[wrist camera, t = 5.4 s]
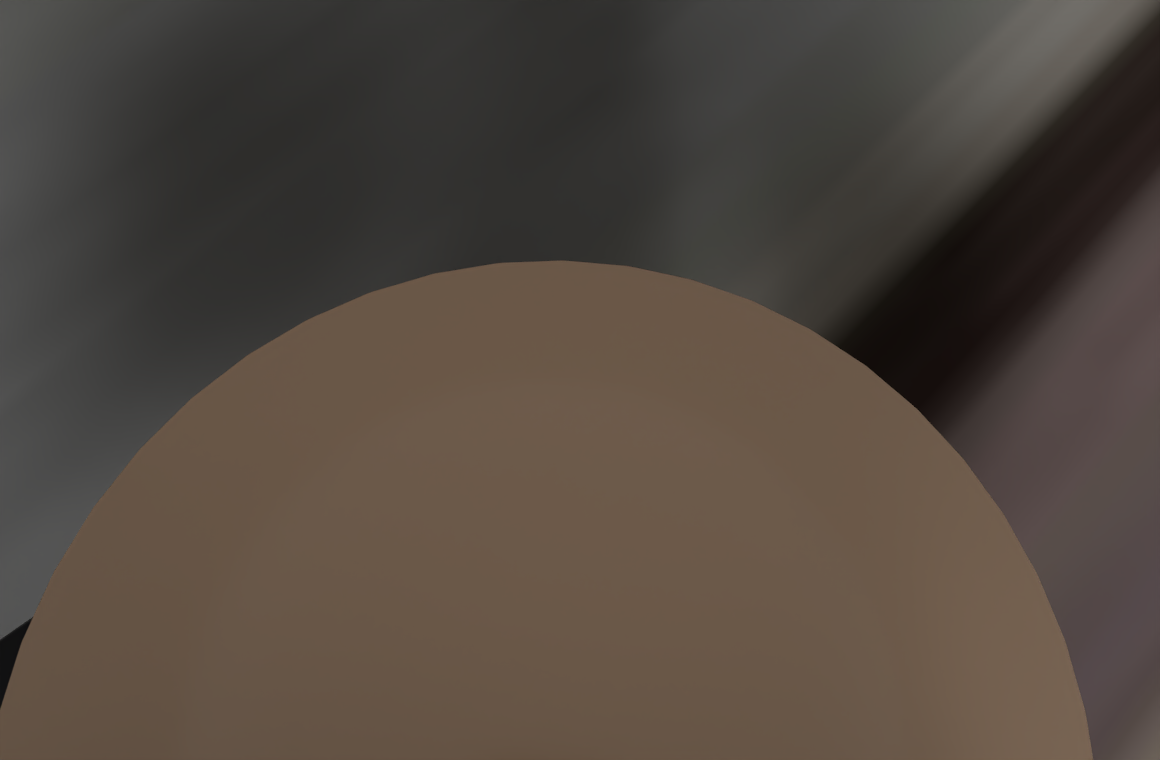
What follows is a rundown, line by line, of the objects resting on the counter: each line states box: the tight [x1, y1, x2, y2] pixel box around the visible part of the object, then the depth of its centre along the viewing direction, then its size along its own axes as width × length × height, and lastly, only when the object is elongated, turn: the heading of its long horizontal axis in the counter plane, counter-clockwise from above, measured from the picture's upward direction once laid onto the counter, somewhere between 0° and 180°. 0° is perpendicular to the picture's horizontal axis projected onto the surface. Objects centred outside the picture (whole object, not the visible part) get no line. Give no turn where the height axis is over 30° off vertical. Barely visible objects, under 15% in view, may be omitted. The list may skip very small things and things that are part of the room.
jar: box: [0, 260, 1093, 760], centre depth 11 cm, size 6×6×13 cm
